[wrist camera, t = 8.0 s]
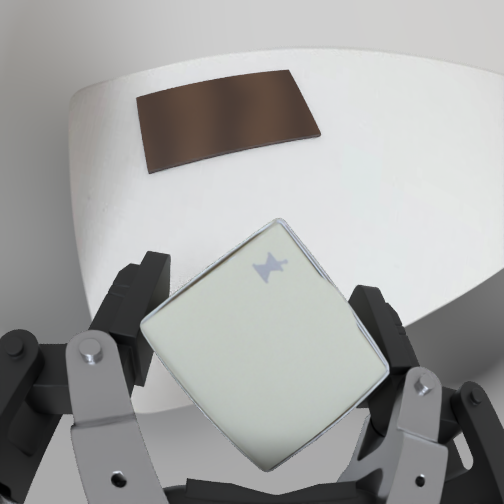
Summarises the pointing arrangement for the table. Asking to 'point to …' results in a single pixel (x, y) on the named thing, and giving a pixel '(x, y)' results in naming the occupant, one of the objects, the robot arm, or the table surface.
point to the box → (267, 346)
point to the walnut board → (222, 118)
